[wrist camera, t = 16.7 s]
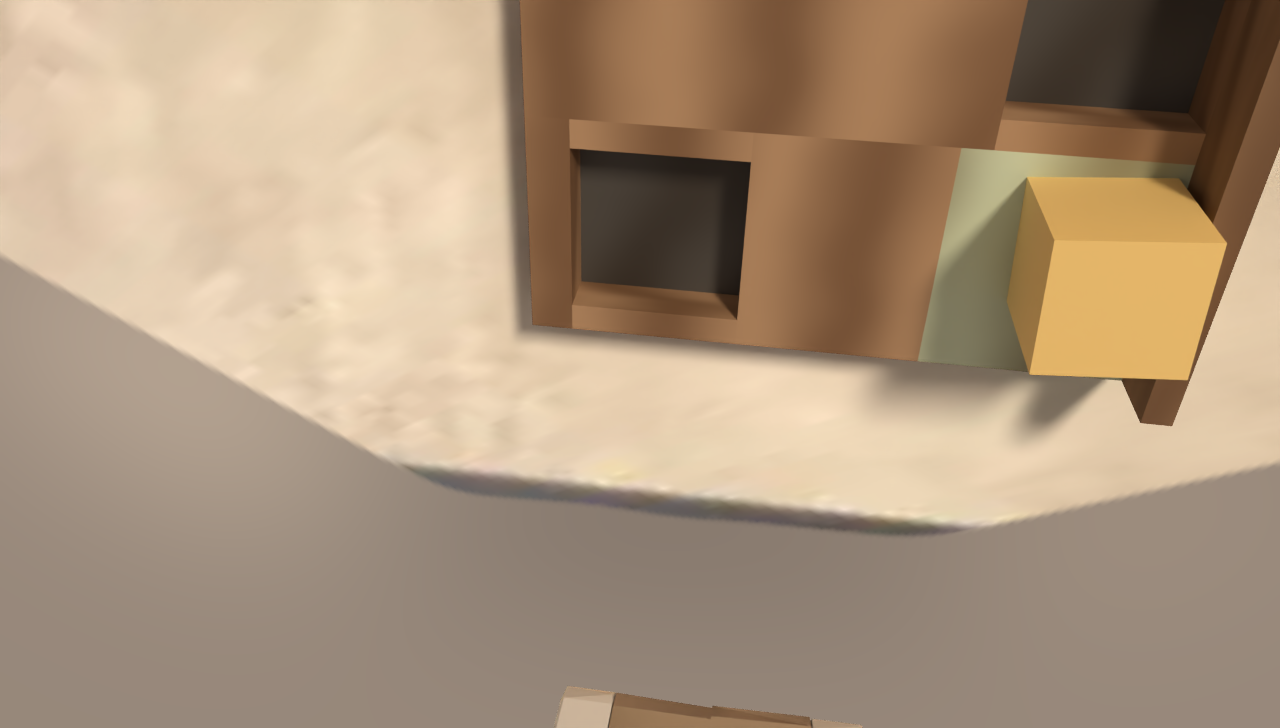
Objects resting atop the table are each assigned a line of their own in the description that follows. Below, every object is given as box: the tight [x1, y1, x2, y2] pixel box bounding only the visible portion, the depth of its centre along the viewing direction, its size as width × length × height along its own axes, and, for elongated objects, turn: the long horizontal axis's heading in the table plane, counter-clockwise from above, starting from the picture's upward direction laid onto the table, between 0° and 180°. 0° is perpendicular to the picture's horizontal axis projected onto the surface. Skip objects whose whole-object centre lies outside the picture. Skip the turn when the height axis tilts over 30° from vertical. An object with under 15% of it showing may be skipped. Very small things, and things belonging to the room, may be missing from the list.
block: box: [1007, 177, 1227, 380], centre depth 32 cm, size 4×4×4 cm
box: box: [520, 0, 1280, 426], centre depth 32 cm, size 22×16×4 cm
